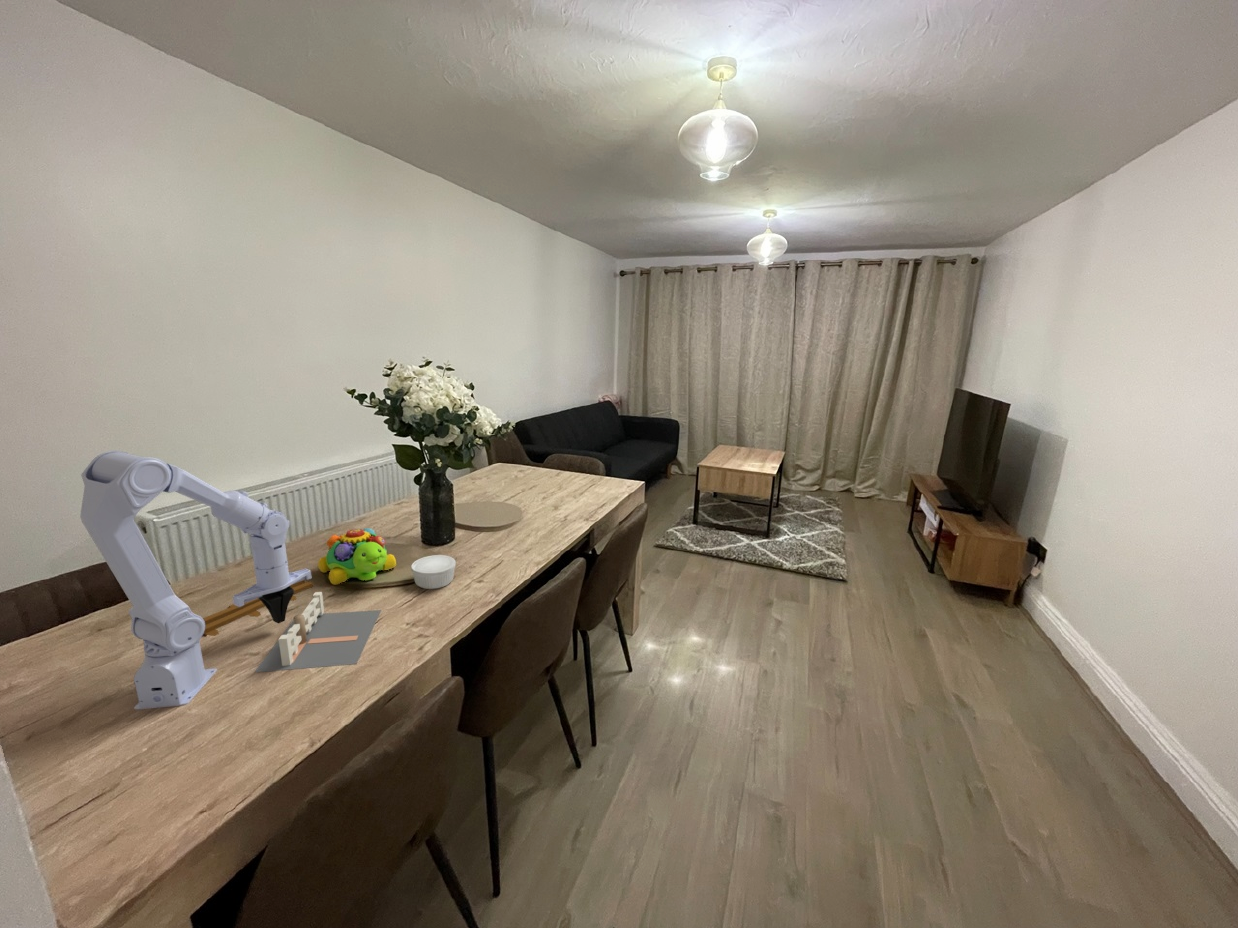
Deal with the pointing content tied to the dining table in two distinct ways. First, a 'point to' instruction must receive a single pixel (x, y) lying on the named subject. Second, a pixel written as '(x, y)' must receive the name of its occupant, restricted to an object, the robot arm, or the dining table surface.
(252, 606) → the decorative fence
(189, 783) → the dining table surface
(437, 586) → the ramekin
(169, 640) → the robot arm
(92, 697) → the dining table surface
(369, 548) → the turtle toy
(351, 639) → the card
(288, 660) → the fence fixed
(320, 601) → the fence gate
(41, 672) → the dining table surface
